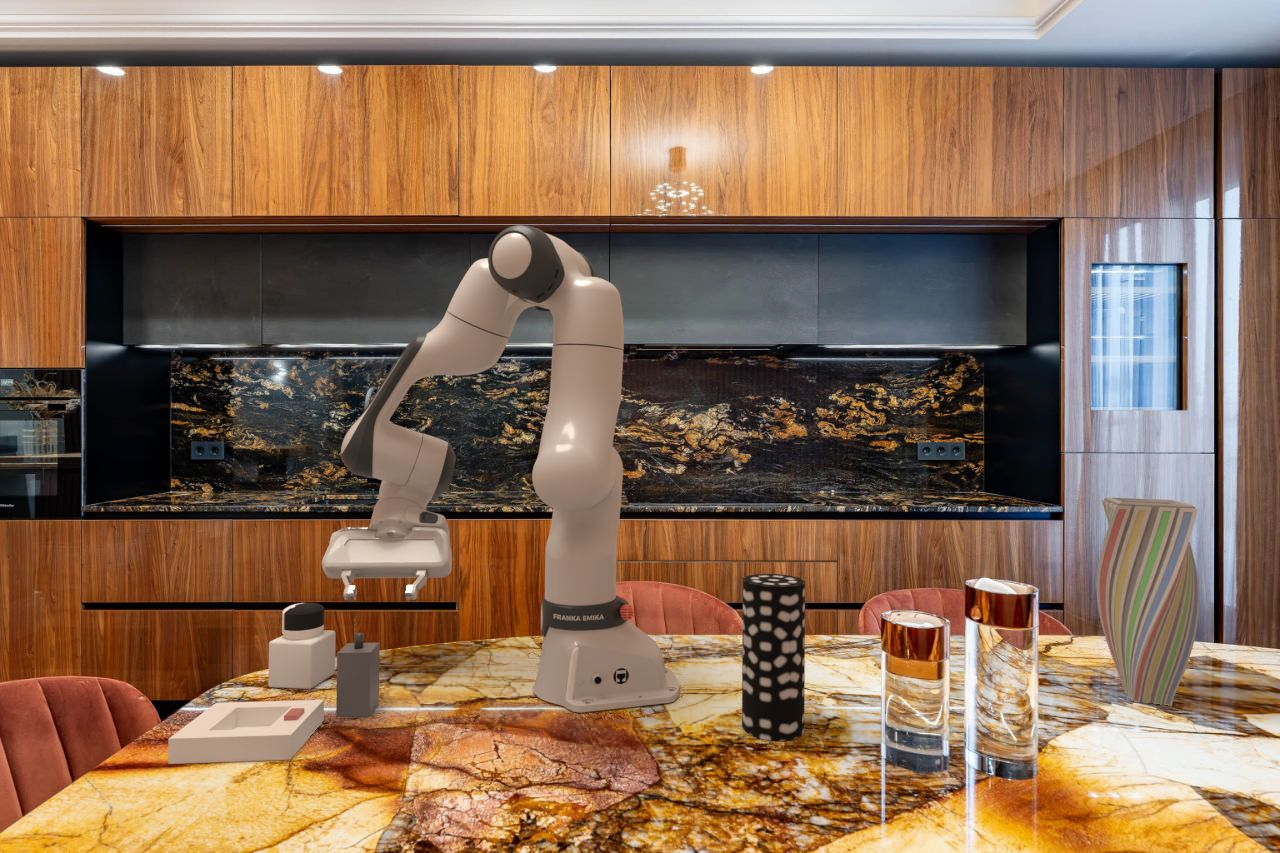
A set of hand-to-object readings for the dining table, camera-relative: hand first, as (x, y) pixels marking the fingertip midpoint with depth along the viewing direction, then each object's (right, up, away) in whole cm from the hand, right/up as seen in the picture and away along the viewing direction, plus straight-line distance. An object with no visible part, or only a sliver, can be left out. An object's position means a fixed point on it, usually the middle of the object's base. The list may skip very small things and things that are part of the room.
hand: (379, 598), depth 109 cm
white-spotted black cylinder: (+59, -14, -15) cm, 63 cm away
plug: (+1, -13, -11) cm, 17 cm away
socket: (-9, -13, -21) cm, 26 cm away
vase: (+118, -14, -4) cm, 119 cm away
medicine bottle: (-13, -14, +1) cm, 19 cm away
